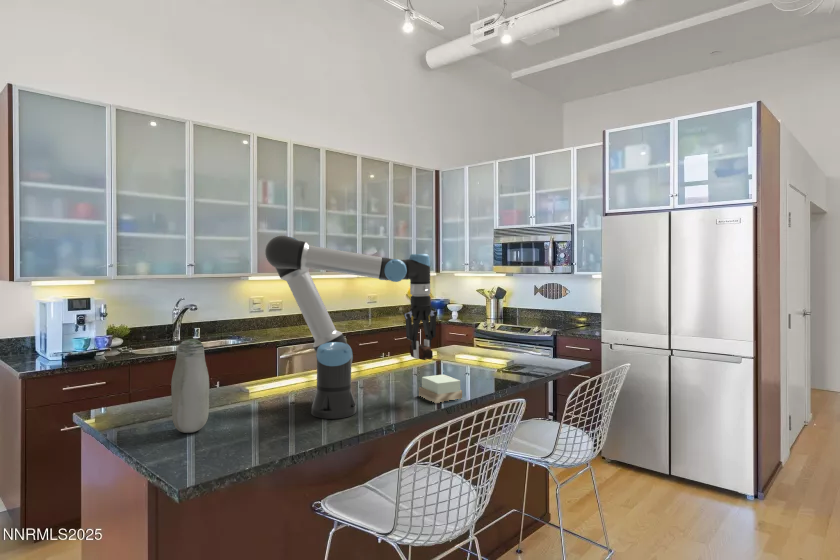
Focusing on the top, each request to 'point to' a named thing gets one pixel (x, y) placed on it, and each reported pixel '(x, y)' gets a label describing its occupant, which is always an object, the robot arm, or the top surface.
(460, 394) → the base block
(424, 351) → the brick
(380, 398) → the top surface
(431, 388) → the top block
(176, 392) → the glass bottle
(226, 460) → the top surface
